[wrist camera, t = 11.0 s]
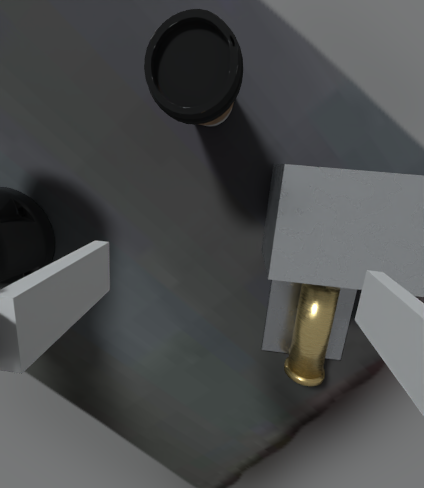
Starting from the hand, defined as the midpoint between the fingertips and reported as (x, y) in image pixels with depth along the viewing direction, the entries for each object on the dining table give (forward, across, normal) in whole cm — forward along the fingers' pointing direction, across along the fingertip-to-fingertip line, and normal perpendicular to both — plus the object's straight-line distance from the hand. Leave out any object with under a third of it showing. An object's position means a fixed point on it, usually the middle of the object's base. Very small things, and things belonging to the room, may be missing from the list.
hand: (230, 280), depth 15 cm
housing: (+27, +12, -8) cm, 30 cm away
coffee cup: (+27, -5, +13) cm, 30 cm away
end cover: (+26, +12, -16) cm, 33 cm away
